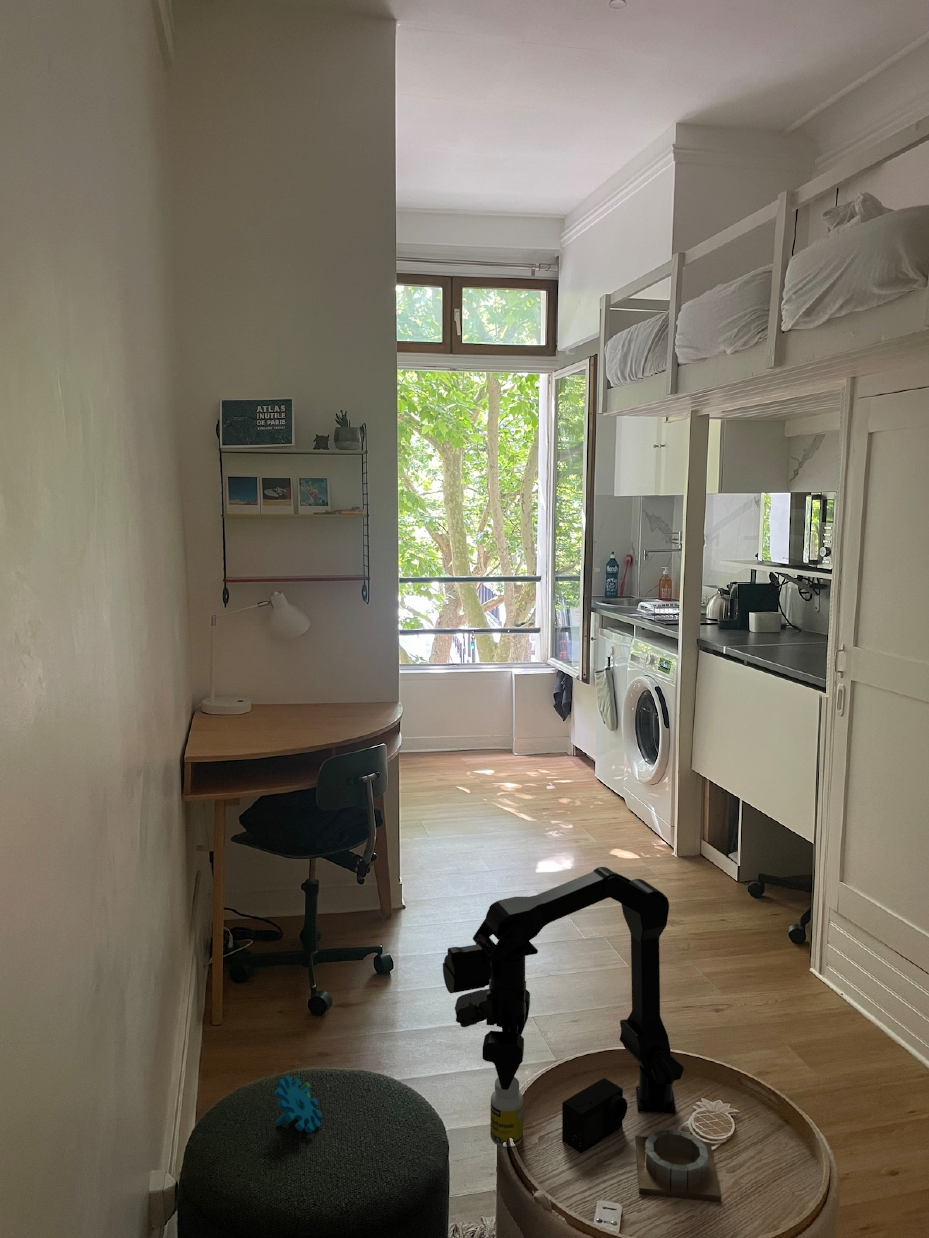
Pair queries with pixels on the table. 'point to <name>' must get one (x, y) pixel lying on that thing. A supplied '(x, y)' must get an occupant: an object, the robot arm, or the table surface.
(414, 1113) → the table surface
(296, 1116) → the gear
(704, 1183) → the collar holder
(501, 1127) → the supplement bottle
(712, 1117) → the table surface
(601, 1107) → the digital camera
